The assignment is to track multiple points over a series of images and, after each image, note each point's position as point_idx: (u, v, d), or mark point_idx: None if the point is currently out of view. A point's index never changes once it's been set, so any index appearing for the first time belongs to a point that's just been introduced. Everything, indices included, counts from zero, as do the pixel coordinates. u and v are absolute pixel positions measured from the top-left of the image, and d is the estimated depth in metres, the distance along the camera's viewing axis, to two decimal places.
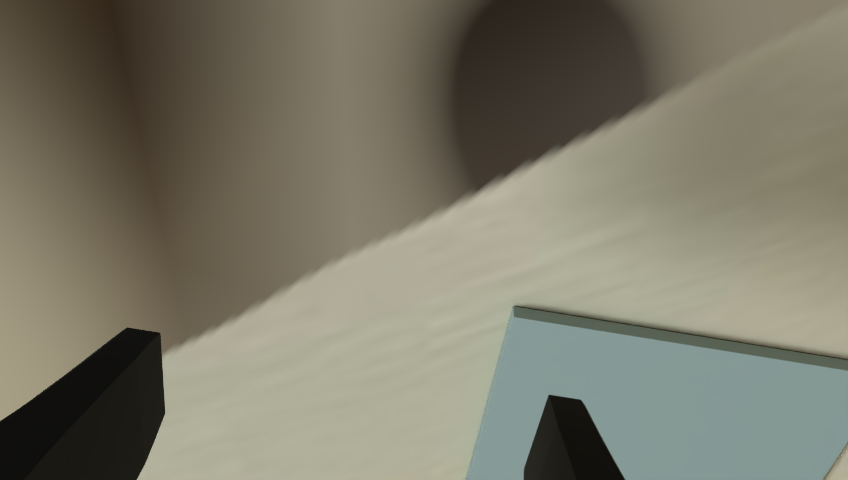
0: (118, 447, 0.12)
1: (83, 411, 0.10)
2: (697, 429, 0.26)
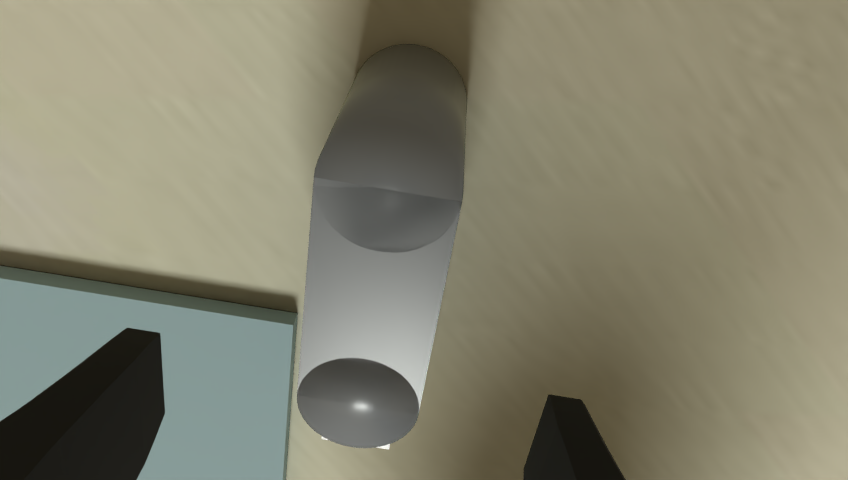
0: (118, 447, 0.12)
1: (83, 411, 0.10)
2: (17, 403, 0.24)
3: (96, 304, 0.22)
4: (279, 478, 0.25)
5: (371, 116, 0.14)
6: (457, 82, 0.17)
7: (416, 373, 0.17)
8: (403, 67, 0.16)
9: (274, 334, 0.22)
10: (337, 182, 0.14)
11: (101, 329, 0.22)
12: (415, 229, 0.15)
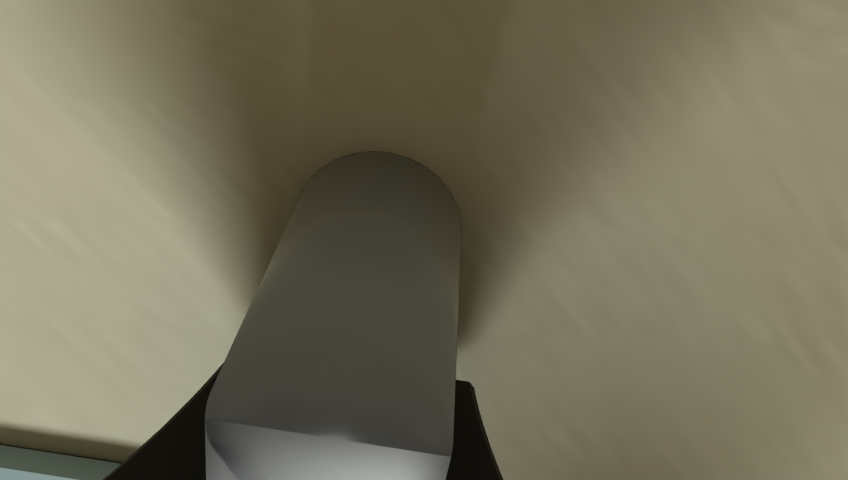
0: None
1: None
2: None
3: None
4: None
5: (296, 329, 0.08)
6: (447, 211, 0.12)
7: None
8: (362, 204, 0.10)
9: None
10: (244, 426, 0.09)
11: None
12: None
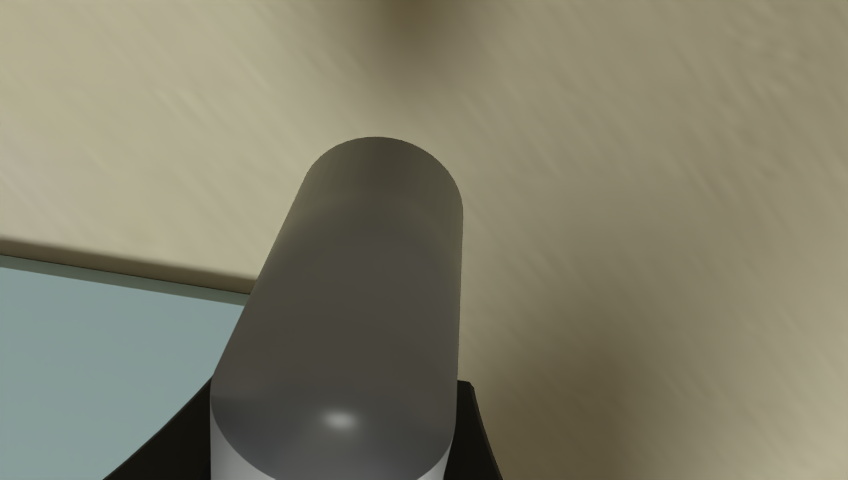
0: None
1: None
2: (24, 393, 0.25)
3: (102, 294, 0.22)
4: None
5: (301, 305, 0.08)
6: (449, 195, 0.12)
7: None
8: (365, 186, 0.11)
9: None
10: (249, 402, 0.09)
11: (108, 318, 0.23)
12: (379, 467, 0.09)
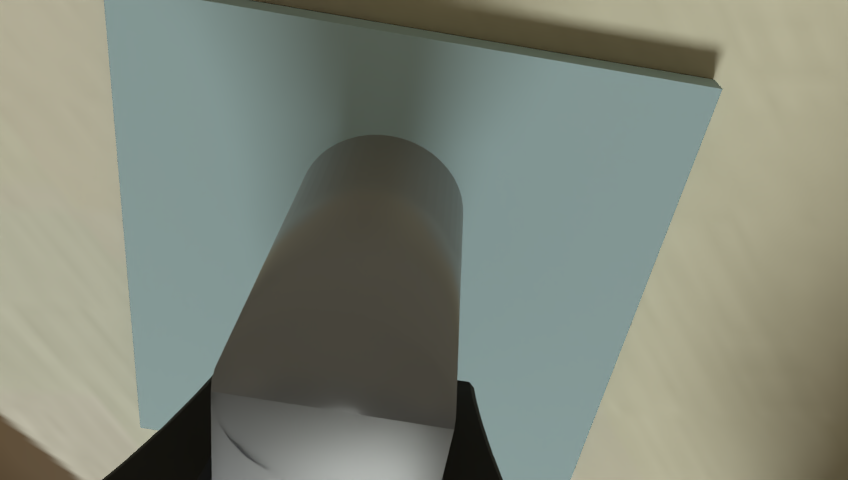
0: None
1: None
2: (272, 233, 0.17)
3: (431, 59, 0.15)
4: (616, 347, 0.19)
5: (301, 302, 0.08)
6: (449, 193, 0.12)
7: None
8: (365, 183, 0.11)
9: (687, 106, 0.15)
10: (249, 399, 0.09)
11: (427, 103, 0.15)
12: (380, 464, 0.09)
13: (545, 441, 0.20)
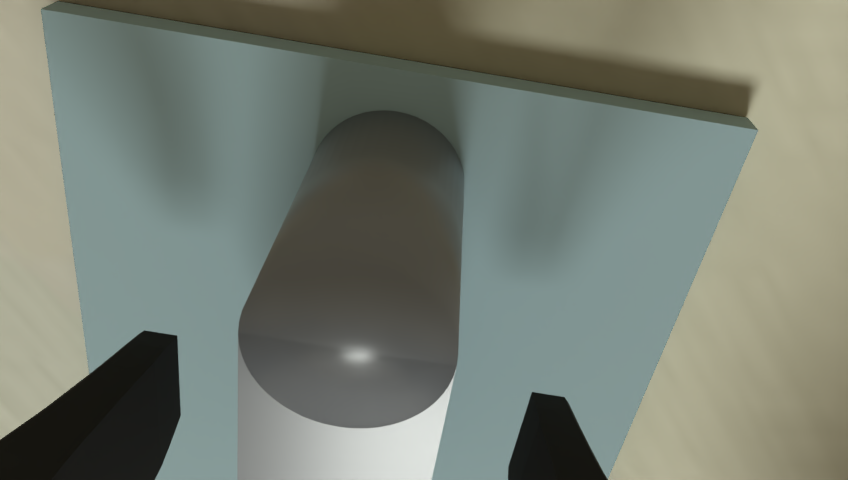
0: (136, 450, 0.12)
1: (104, 414, 0.10)
2: (244, 286, 0.15)
3: (422, 96, 0.13)
4: (632, 409, 0.17)
5: (319, 249, 0.09)
6: (451, 163, 0.13)
7: None
8: (374, 152, 0.12)
9: (717, 149, 0.13)
10: (272, 339, 0.10)
11: None
12: (389, 399, 0.10)
13: None
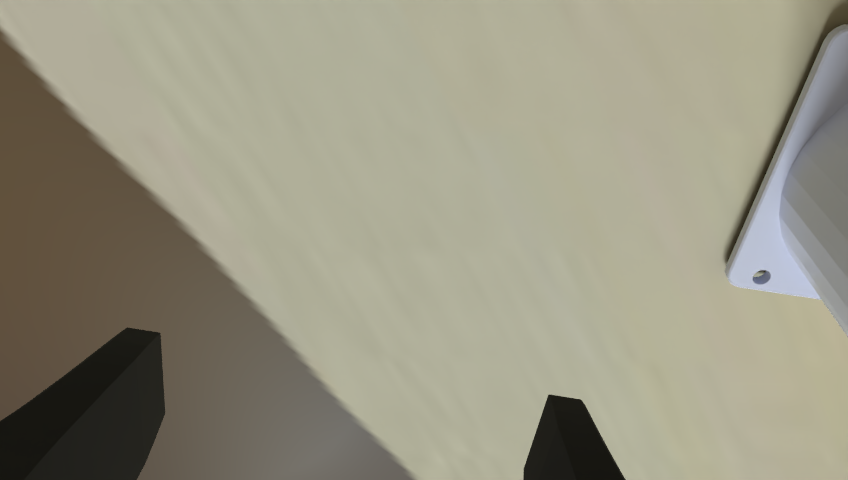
0: (118, 447, 0.12)
1: (83, 411, 0.10)
2: None
3: None
4: None
5: None
6: None
7: None
8: None
9: None
10: None
11: None
12: None
13: None
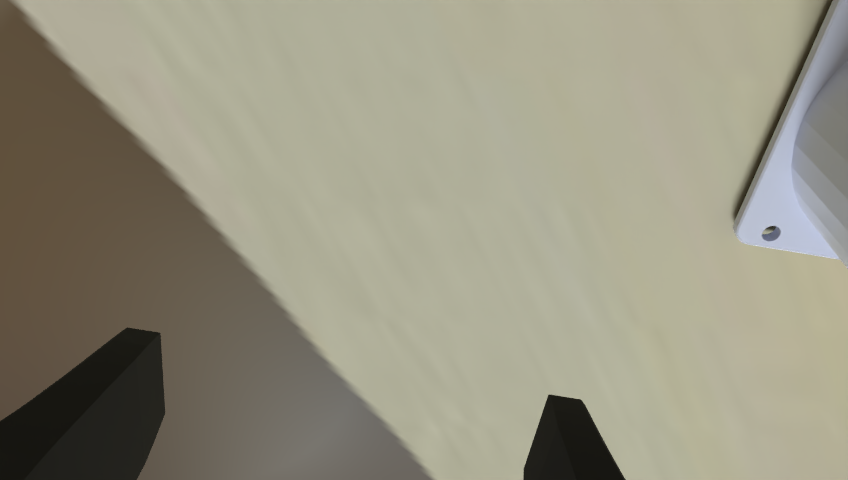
0: (118, 447, 0.12)
1: (83, 411, 0.10)
2: None
3: None
4: None
5: None
6: None
7: None
8: None
9: None
10: None
11: None
12: None
13: None
